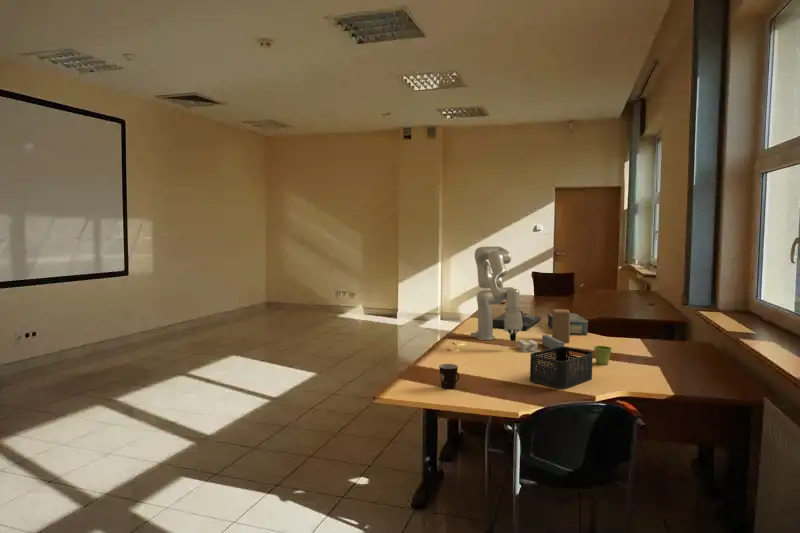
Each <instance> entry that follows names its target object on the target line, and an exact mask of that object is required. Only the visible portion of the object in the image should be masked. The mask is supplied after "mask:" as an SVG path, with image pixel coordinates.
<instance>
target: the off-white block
mask: <svg viewBox="0 0 800 533" xmlns="http://www.w3.org/2000/svg"><path fill="white" fill-rule="evenodd" d="M538 348H539V346H538V343H537V342H536V341H534V340H533V339H518V349H520V351H522V352H523V353H535V352H539V351H538Z"/></svg>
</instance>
